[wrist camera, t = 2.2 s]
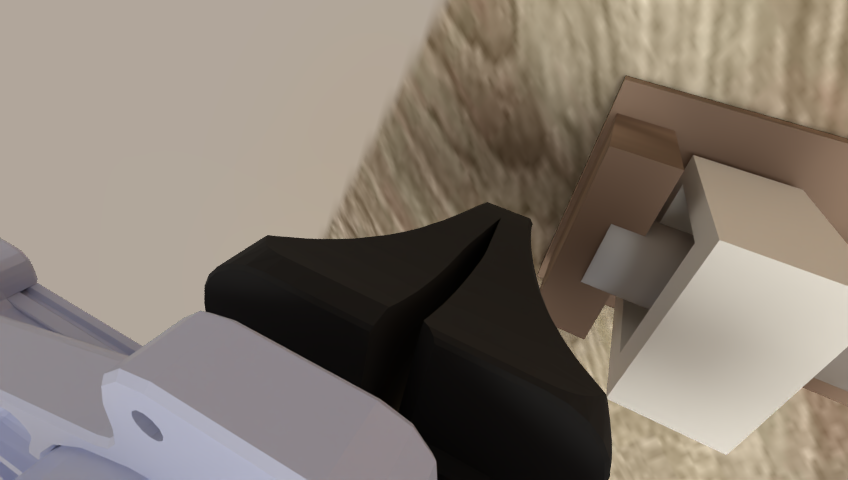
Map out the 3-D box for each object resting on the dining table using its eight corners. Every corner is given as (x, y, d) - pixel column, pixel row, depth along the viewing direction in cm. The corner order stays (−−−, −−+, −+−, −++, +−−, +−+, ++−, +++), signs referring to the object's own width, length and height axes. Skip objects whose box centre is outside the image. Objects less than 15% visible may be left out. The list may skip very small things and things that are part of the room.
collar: (616, 283, 16) (606, 398, 11) (693, 154, 13) (719, 240, 8) (701, 318, 15) (726, 455, 11) (802, 189, 12) (895, 303, 8)
